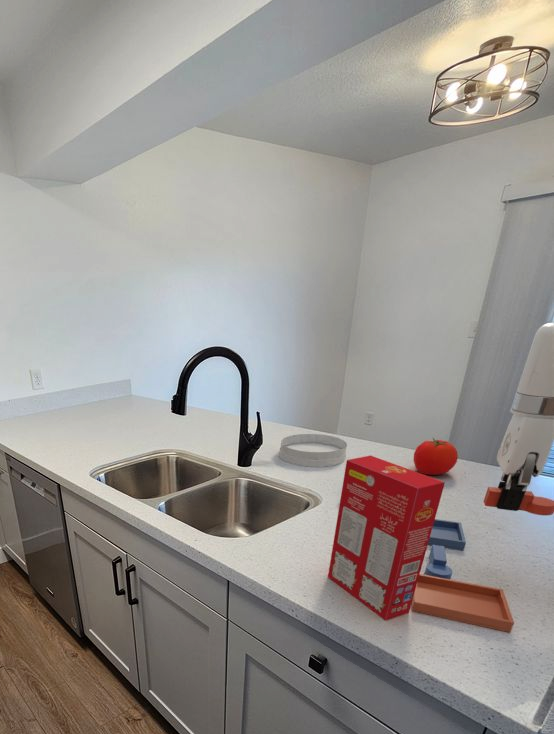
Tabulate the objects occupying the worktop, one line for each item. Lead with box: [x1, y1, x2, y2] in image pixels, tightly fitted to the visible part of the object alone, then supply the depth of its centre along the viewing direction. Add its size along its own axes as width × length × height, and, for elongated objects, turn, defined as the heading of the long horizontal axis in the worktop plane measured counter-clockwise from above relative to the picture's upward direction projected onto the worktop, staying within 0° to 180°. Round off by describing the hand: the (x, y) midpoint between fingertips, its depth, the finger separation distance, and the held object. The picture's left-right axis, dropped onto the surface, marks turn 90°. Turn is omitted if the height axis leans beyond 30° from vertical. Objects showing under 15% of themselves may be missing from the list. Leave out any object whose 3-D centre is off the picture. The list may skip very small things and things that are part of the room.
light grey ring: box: [279, 433, 348, 468], centre depth 153 cm, size 22×22×5 cm
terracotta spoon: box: [483, 486, 554, 516], centre depth 78 cm, size 4×10×3 cm, turn 62°
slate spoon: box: [423, 545, 453, 580], centre depth 88 cm, size 4×10×3 cm, turn 153°
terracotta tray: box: [411, 573, 515, 633], centre depth 78 cm, size 14×10×2 cm
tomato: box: [413, 437, 459, 476], centre depth 132 cm, size 12×12×10 cm
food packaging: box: [327, 454, 446, 621], centre depth 77 cm, size 15×5×25 cm, turn 20°
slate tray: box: [428, 518, 467, 551], centre depth 101 cm, size 14×10×2 cm
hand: (505, 505), depth 80 cm, fingers closed on terracotta spoon, 2 cm apart
